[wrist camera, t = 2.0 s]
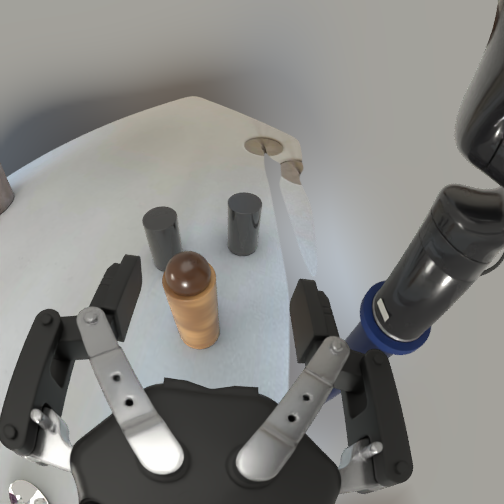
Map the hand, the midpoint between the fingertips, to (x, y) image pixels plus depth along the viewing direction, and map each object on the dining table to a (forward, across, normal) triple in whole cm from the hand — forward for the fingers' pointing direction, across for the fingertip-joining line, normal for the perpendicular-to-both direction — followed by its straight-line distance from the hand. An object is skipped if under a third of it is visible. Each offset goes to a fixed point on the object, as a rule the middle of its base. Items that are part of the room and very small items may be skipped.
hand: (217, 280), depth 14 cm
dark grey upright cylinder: (+24, -4, +14) cm, 28 cm away
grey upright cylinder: (+21, +6, +17) cm, 28 cm away
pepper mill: (+10, +1, +18) cm, 21 cm away
